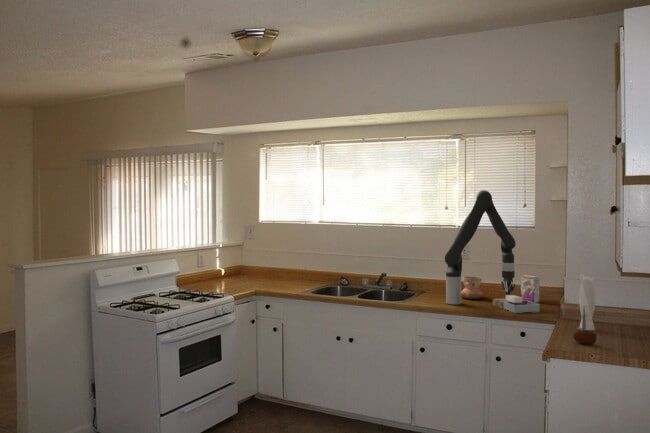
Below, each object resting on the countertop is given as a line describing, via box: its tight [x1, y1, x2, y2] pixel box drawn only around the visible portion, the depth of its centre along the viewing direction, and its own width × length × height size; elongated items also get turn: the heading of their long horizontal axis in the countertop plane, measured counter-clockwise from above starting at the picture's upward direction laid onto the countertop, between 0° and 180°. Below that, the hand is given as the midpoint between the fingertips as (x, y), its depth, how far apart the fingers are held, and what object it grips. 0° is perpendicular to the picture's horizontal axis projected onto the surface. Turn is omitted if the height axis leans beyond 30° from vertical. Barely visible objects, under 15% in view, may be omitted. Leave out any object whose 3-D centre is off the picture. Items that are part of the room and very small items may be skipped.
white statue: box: [576, 273, 597, 332], centre depth 282 cm, size 8×8×28 cm
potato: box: [572, 330, 598, 346], centre depth 252 cm, size 7×9×6 cm
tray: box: [503, 301, 541, 314], centre depth 330 cm, size 13×16×4 cm
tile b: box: [510, 295, 522, 303], centre depth 336 cm, size 5×5×3 cm
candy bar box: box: [520, 274, 540, 304], centre depth 359 cm, size 11×5×16 cm, turn 28°
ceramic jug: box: [461, 275, 484, 300], centre depth 373 cm, size 18×14×14 cm
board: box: [492, 297, 527, 310], centre depth 343 cm, size 13×16×4 cm
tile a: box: [505, 294, 517, 301], centre depth 341 cm, size 5×5×3 cm
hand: (508, 297), depth 345 cm, fingers closed
